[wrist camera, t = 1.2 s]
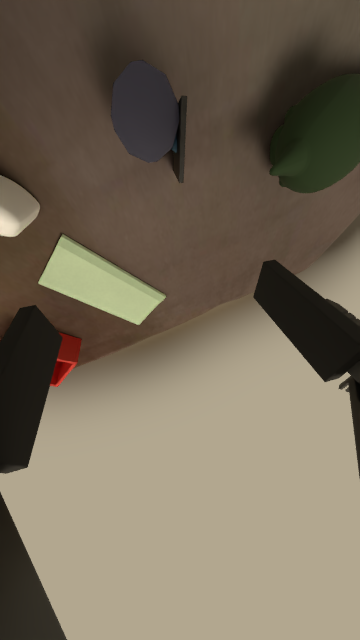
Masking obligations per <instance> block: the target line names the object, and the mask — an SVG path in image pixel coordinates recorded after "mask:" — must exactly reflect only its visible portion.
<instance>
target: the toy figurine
mask: <svg viewBox="0 0 360 640" xmlns="http://www.w3.org/2000/svg"><path fill="white" fill-rule="evenodd" d="M270 161H271V164H272V165H273V166H272V168H271V169H270V175H273V176H279V183H280V185H281V186H282V187H287V188H289V189H291V190H293V191H295V192H299V193H313V192H317V191H320V190H323V189H325V188H327V187H329V186H331V185H333V184H334V183H336V182H338V181H339V180H341V179H342V178H343V177H345V176H346V175H347V174H348V173H349V172H351V171H352V170H353V169H354V168H355V167H356V166H357V164H358V163H359V162H360V74H345V75H341V76H338V77H335V78H332V79H330V80H329V81H327V82H325V83H323V84H321V85H320V86H318V87H317V88H315V89H314V90H312V91H311V92H310V93H309V94H307V95H306V96H305V97H304V98H303V99H302V100H301V101H300V102H299V103H298V104H297V105H294V106H292V107H291V108H290V109H289V110H288V111H287V113H286V115H285V121H284V125H282V126H280V127H279V128H278V129H277V130H276V131H275V133H274V135H273V137H272V140H271V144H270Z"/></svg>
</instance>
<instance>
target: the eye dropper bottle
mask: <svg viewBox="0 0 360 640" xmlns="http://www.w3.org/2000/svg"><path fill="white" fill-rule="evenodd" d="M39 210H40V205H39V203H38V202H37V200H36V199H35V198H34V197H33V196H32V195H31V194H30V193H29V192H27V191H26V190H25V189H24V188H22V187H21V186H20V185H18V184H17V183H15V182H13V181H12V180H10V179H8V178H6V177H4V176H1V175H0V235H2V236H8V237H14V236H17V235H18V234H19V233H20V232H22V231H23V230H24V229H25V228H26V227H27V226H28V225H29V224H30V223H31V222H32V221H33V220H34V219H35V218H36V217H37V215H38V213H39Z"/></svg>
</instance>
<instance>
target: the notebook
mask: <svg viewBox="0 0 360 640" xmlns="http://www.w3.org/2000/svg"><path fill="white" fill-rule="evenodd" d="M38 284H41V285H43V286H46V287H48V288H50V289H53V290H55V291H58V292H60V293H62V294H65V295H67V296H70V297H72V298H75V299H77V300H79V301H82V302H84V303H87V304H89V305H91V306H94V307H96V308H99V309H101V310H103V311H106V312H108V313H111V314H113V315H116V316H118V317H120V318H123V319H125V320H128V321H130V322H132V323H135V324H137V325H139V324H140V323H141V322H142V321H143V320H144V319H145V318H146V317H147V316H148V315H149V314H150V313H151V311H152V310H153V309H154V308H155V307H156V306H157V305H158V304H159V303H160V302H162V301H163V300H164V299H165V298H166V295H165V294H163V293H161V292H160V291H158V290H156V289H155V288H153V287H151V286H150V285H148V284H146V283H145V282H143V281H141V280H139V279H138V278H136V277H134V276H133V275H131V274H129V273H128V272H126V271H124V270H123V269H121V268H119V267H118V266H116V265H114V264H113V263H111V262H109V261H107V260H106V259H104V258H102V257H101V256H99V255H97V254H96V253H94V252H92V251H91V250H89V249H87V248H86V247H84V246H82V245H81V244H79V243H77V242H75V241H74V240H72V239H70V238H69V237H67V236H65V235H64V234H62V236H61V238H60V240H59V242H58V244H57V246H56V248H55V250H54V252H53V254H52V256H51V258H50V260H49V262H48V264H47V266H46V268H45V270H44V272H43V274H42V276H41V278H40V280H39V282H38Z"/></svg>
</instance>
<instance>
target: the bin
mask: <svg viewBox="0 0 360 640" xmlns="http://www.w3.org/2000/svg"><path fill="white" fill-rule="evenodd" d="M59 334H60V335H61V336H62V337H63V339H62V343H61V346H60V350H59V354H58V357H57V361H56V365H55V368H54V372H53V376H52V379H51V383H50V386H56V387H58V386H59V385H60V383H61V382H62V381H63V380H64V378H65V377H66V376H67V375H68V374H69V372H70V371H71V370H72V369H73V368H74V366H75V365H76V364H77V362H78V356H79V351H80V346H81V340H82V339H79V338H76V337H73V336H69V335H66V334H63V333H59Z"/></svg>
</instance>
